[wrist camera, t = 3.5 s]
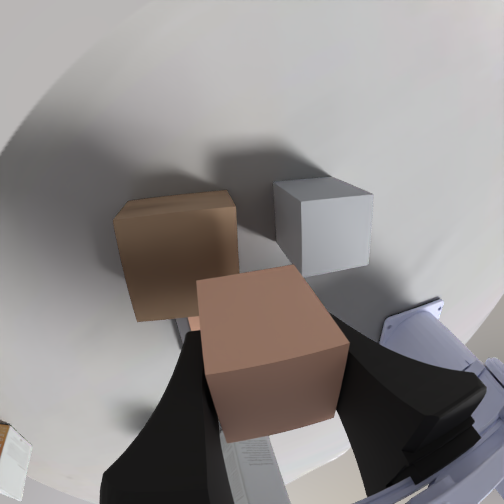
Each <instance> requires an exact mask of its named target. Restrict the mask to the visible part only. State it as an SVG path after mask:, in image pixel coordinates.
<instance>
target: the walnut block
mask: <svg viewBox="0 0 504 504" xmlns="http://www.w3.org/2000/svg"><path fill="white" fill-rule="evenodd" d="M113 224H114V230H115V235H116V240H117V245H118V249H119V254H120V258H121V263H122V267H123V271H124V275H125V280H126V283H127V287H128V291H129V295H130V299H131V302H132V306H133V309H134V313H135V316H136V320H137V322H142V321H154V320H165V319H176V318H185V317H195V316H199V309H198V297H197V284H196V281H197V280H203V279H209V278H216V277H222V276H228V275H234V274H239V258H238V239H237V219H236V206H235V204H234V202H233V200H232V199H231V197H230V195H229V193H228V191H227V190H221V191H210V192H199V193H189V194H180V195H171V196H162V197H154V198H146V199H139V200H131V201H128V202H127V203H126V204H125V206H124V207H123V208H122V209H121V210H120V212H119V213H118V214H117V215H116V217H115V218H114V219H113Z"/></svg>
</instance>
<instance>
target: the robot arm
mask: <svg viewBox="0 0 504 504" xmlns="http://www.w3.org/2000/svg"><path fill="white" fill-rule="evenodd" d="M443 304H444V301H443V300H442V299H439V300H436V301H434V302H431V303H428V304H426V305H423V306H420V307H417V308H414V309H411V310H409V311H406V312H403V313H400V314H397V315H394V316H391V317H388V318H387V319H386V320H385V322H384V326H383V330H382V334H381V338H380V342H379V344H378V343H376V342H375V341H373V340H371V339H369V338H367V337H366V336H364V335H362V334H361V333H359V332H358V331H356V330H354V329H353V328H351V327H350V326H348V325H347V324H345V323H344V322H342V321H341V320H339V319H338V318H336V317H335V316H334V315H332V314H331V313H329V312H328V313H329V314H330V315H331V317H332V318H333V320H334V321H335V322H336V324H337V325H338V327H339V328H340V330H341V331H342V332H343V334H344V335H345V337H346V338H347V339H348V341H349V342H350V344H349V350H348V355H347V361H346V366H345V371H344V376H343V380H342V385H341V389H340V394H339V398H338V402H337V406H336V410H337V412H338V414H339V416H340V419H341V421H342V424H343V426H344V429H345V431H346V433H347V436H348V439H349V441H350V444H351V447H352V449H353V452H354V455H355V458H356V461H357V463H358V467H359V470H360V473H361V477H362V480H363V483H364V487H365V491H366V495H367V498H365V499H363V500H360V501H358V502H355V503H353V504H394V503H396V502H398V501H400V500H402V499H404V498H406V497H407V496H409V495H411V494H413V493H414V492H416V491H418V490H420V489H421V488H423V487H425V486H426V485H428V484H429V486H428V488H427V489H426V490H424V491H422V492H421V493H419V494H418V495H416V496H415V497H413V498H411V499H410V500H409V501H408V502H407V503H405V504H479V503H480V502H481V501H482V500H483V499H484V498H485V497H486V496H487V495H489V493H490V492H491V491H492V490H493V489H494V488H495V489H496V490H497V491H498V493H499V494H500V495H501V496H502V498H503V499H504V364H503V363H502V362H501V361H500V360H499V359H498V358H496V357H494V358H488V359H487V360H486V362H485V363H483V362H482V361H480V360H479V359H478V358H477V357H476V356H475V355H474V354H473V353H472V352H471V351H470V350H469V349H468V348H467V347H466V346H465V345H464V344H463V343H462V342H461V341H460V340H459V339H458V338H457V337H456V336H455V335H454V334H453V333H452V332H451V331H450V330H449V329H448V328H447V327H445V326H444V325H443V324H442V323H441V322H440V321H439V317H440V314H441V311H442V307H443ZM100 504H234V500H233V496H232V492H231V488H230V484H229V480H228V475H227V471H226V466H225V462H224V457H223V452H222V448H221V442H220V434H219V422H218V415H217V412H216V409H215V406H214V402H213V399H212V396H211V393H210V389H209V386H208V383H207V379H206V376H205V369H204V360H203V351H202V341H201V331H200V330H196V331H190V332H187V333H186V334H185V339H184V343H183V347H182V350H181V353H180V356H179V359H178V362H177V364H176V367H175V370H174V372H173V375H172V377H171V379H170V381H169V384H168V386H167V388H166V390H165V392H164V394H163V396H162V398H161V400H160V402H159V404H158V405H157V407H156V409H155V411H154V412H153V414H152V416H151V417H150V419H149V420H148V422H147V423H146V425H145V426H144V428H143V429H142V431H141V432H140V433H139V435H138V436H137V437H136V438H135V440H134V441H133V442H132V443H131V444H130V446H129V447H128V448H127V449H126V451H125V452H124V453H123V454H122V455H121V456H120V457H119V458H118V459H117V460H116V461H115V462H114V463H113V464H112V465H111V466H110V467H109V468H108V469H107V470H106V471H105V472H104V473H103V477H102V482H101V487H100Z"/></svg>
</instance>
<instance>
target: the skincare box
mask: <svg viewBox="0 0 504 504" xmlns="http://www.w3.org/2000/svg"><path fill="white" fill-rule="evenodd" d="M220 442H221V448H222V452H223V457H224V462H225V466H226V471H227V475H228V480H229V484H230V488H231V492H232V496H233V500H234V504H291V502H290V499H289V497H288V494H287V491H286V488H285V485H284V482H283V479H282V476H281V473H280V470H279V466H278V463H277V460H276V457H275V454H274V451H273V448H272V445H271V442H270V438H269V436H264V437H259V438H254V439H249V440H244V441H238V442H233V443H227V442H226V439H225V436H224V433H223V430H222V431H221V433H220Z"/></svg>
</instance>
